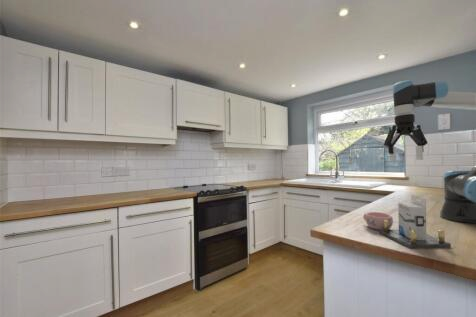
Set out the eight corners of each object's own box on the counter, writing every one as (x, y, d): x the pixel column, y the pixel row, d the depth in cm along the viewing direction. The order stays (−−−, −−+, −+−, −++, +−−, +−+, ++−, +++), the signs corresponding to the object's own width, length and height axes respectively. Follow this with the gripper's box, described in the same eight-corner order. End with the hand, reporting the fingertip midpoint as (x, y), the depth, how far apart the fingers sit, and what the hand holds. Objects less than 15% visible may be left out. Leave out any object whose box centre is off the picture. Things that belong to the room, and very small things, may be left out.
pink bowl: (398, 230, 91) (398, 216, 91) (382, 233, 87) (382, 218, 87) (371, 222, 102) (370, 210, 102) (356, 225, 98) (355, 212, 98)
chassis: (413, 232, 88) (413, 219, 88) (450, 247, 73) (450, 231, 73) (379, 233, 88) (379, 220, 88) (410, 248, 73) (409, 232, 73)
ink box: (398, 232, 85) (397, 194, 85) (412, 232, 84) (411, 194, 84) (411, 240, 77) (410, 198, 77) (427, 240, 76) (426, 198, 76)
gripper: (420, 116, 108) (423, 159, 108) (373, 117, 105) (376, 161, 105) (436, 112, 101) (438, 159, 100) (385, 114, 98) (388, 161, 98)
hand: (406, 160), depth 103 cm, fingers open, 13 cm apart
